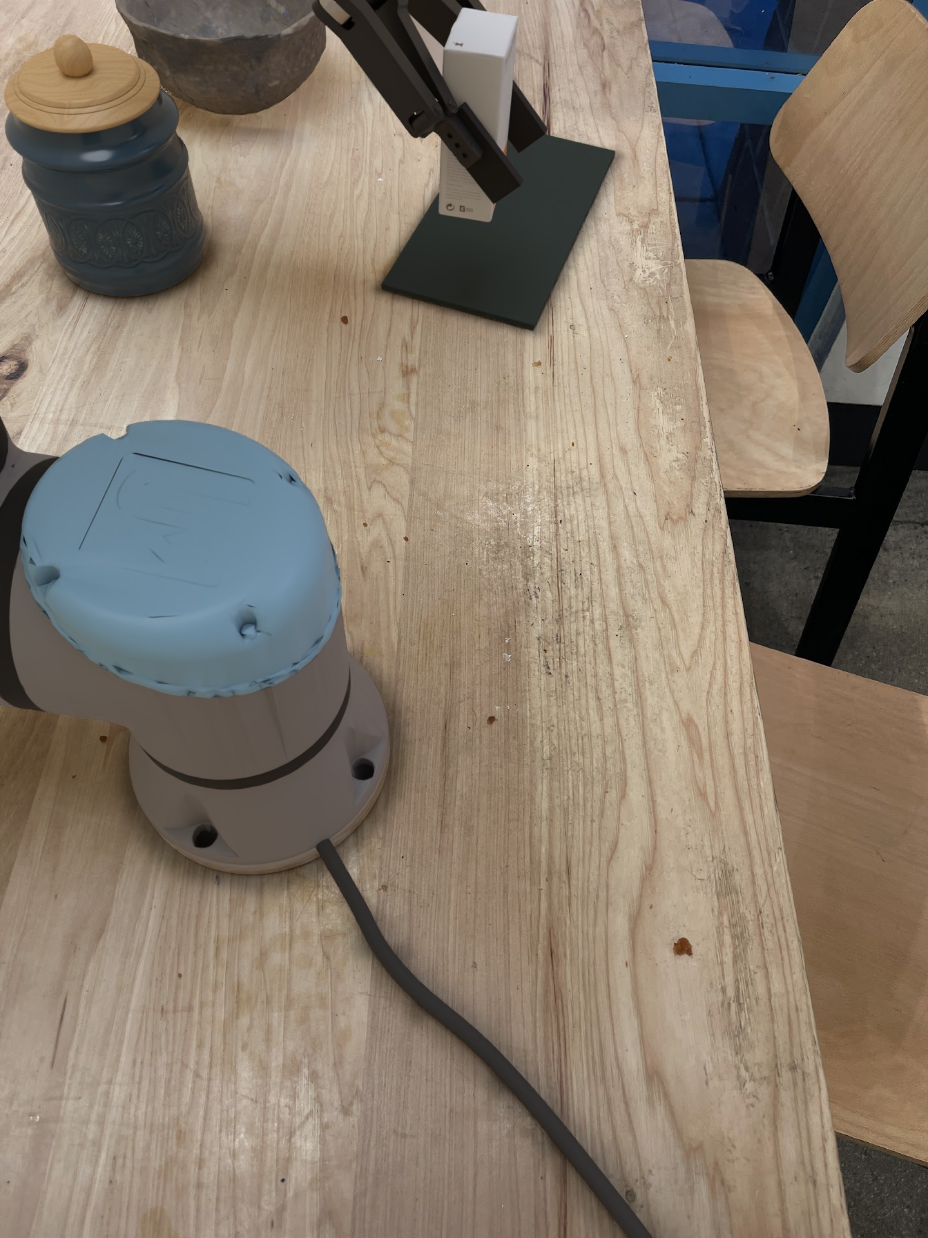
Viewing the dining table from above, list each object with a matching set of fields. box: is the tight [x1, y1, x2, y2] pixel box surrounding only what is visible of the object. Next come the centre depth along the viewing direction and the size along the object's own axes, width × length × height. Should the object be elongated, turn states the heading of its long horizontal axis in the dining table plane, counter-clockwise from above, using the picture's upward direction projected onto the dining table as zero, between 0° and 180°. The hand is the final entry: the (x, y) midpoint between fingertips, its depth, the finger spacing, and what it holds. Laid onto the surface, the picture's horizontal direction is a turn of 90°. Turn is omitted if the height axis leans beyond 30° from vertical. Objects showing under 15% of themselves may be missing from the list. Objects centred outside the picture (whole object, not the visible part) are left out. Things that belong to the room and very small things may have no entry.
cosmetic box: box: [438, 8, 519, 222], centre depth 64 cm, size 6×4×12 cm
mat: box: [380, 133, 616, 331], centre depth 83 cm, size 28×14×1 cm, turn 161°
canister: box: [3, 34, 207, 298], centre depth 71 cm, size 13×13×18 cm
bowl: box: [114, 0, 327, 116], centre depth 89 cm, size 21×21×10 cm
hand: (520, 165), depth 66 cm, fingers closed on cosmetic box, 6 cm apart
